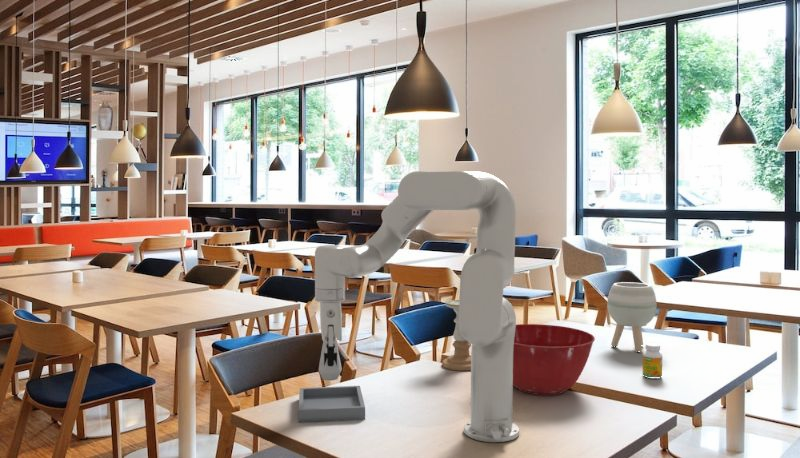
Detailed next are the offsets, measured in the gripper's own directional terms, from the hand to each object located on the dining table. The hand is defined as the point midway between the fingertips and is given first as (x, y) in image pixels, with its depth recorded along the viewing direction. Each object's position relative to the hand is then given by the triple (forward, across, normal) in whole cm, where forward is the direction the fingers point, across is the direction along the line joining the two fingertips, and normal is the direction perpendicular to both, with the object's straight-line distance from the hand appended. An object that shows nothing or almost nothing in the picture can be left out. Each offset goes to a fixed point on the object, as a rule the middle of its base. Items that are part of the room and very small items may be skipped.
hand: (330, 365), depth 173 cm
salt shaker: (+3, 0, 0) cm, 3 cm away
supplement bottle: (+11, +16, -95) cm, 97 cm away
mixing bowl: (+11, +10, -59) cm, 61 cm away
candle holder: (+11, +36, -42) cm, 56 cm away
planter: (+11, +50, -105) cm, 117 cm away
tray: (+11, 0, 0) cm, 11 cm away
